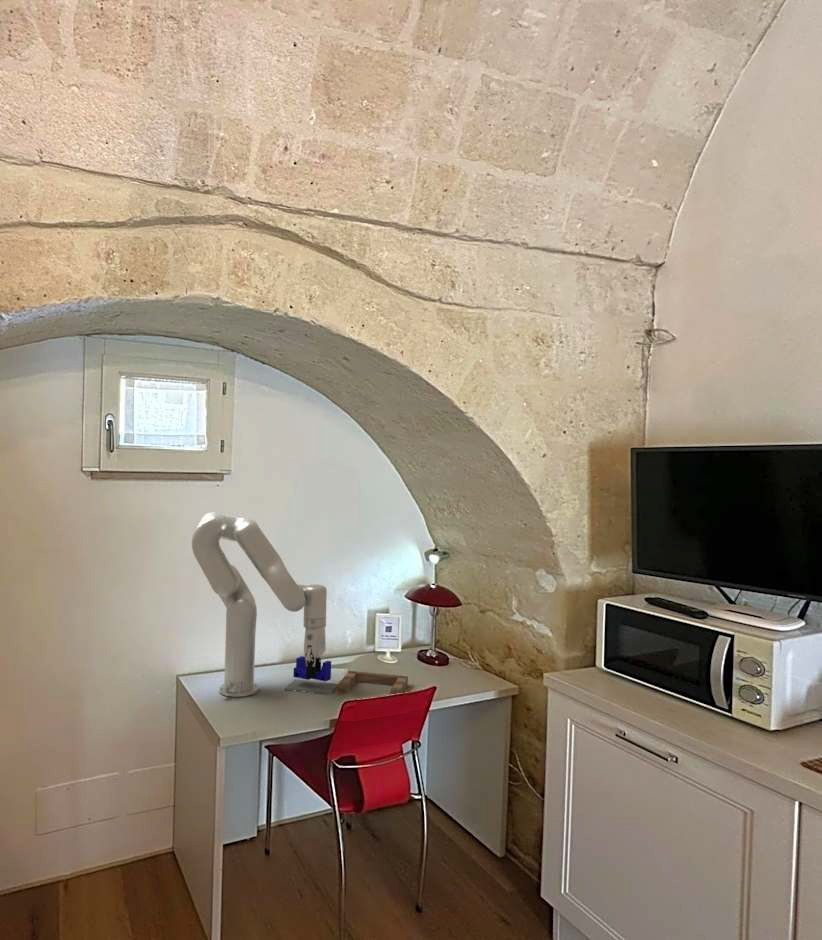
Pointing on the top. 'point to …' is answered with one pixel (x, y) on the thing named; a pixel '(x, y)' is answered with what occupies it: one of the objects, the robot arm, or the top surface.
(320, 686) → the rubber mat
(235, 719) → the top surface
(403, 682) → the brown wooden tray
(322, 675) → the blue u-shaped cradle
